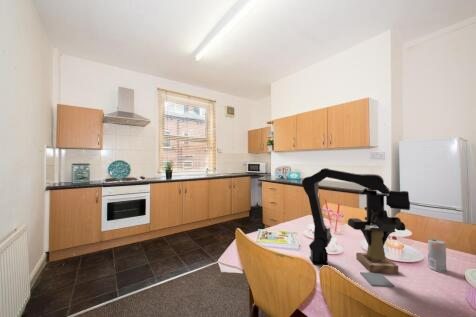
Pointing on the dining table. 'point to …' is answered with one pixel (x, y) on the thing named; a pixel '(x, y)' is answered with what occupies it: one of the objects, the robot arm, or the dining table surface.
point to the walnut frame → (377, 264)
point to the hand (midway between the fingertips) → (375, 245)
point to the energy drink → (437, 255)
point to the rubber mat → (376, 279)
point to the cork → (376, 244)
